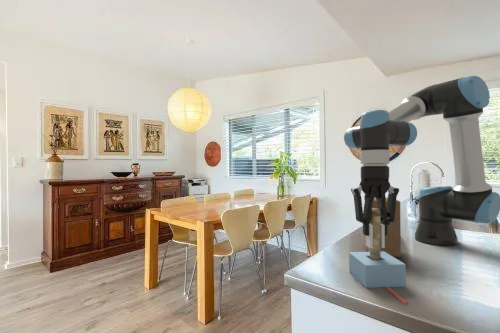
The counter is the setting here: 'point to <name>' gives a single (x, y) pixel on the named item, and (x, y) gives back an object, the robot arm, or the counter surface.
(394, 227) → the wooden block
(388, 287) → the thin red rod
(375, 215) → the tan brown rod
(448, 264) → the counter surface
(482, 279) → the counter surface
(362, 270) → the blue block with hole
